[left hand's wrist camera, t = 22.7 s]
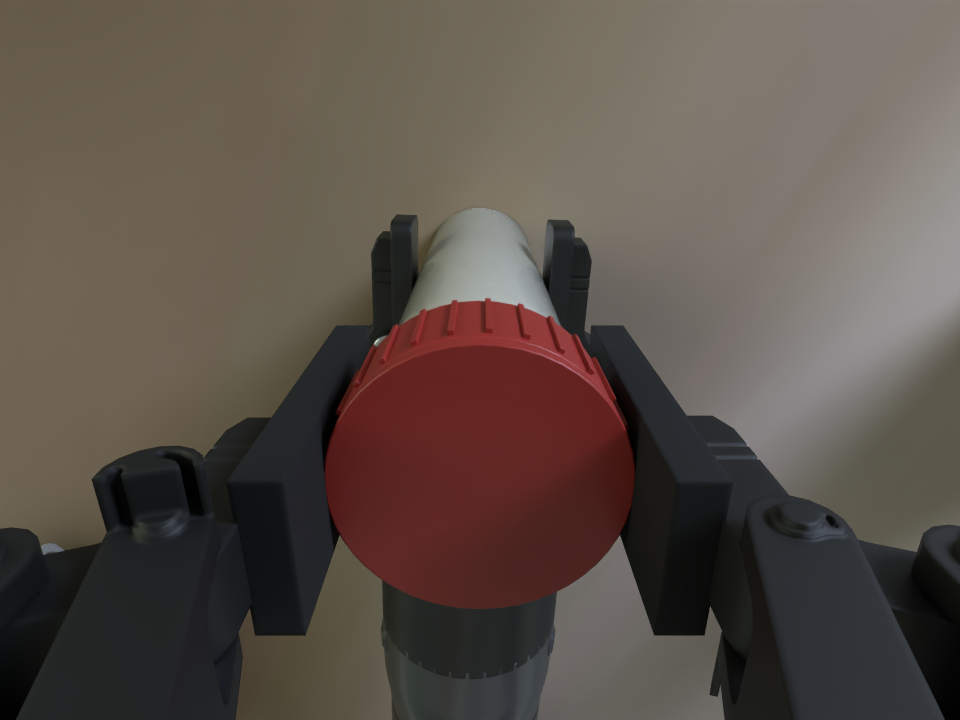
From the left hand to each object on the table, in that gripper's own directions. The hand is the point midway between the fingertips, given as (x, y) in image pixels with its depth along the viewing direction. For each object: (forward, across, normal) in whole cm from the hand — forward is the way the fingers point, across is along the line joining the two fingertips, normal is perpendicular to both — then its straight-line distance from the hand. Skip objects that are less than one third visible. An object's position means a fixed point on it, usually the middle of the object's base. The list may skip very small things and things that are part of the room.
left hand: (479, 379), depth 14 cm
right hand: (+7, 0, -3) cm, 8 cm away
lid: (-4, 0, 0) cm, 4 cm away
